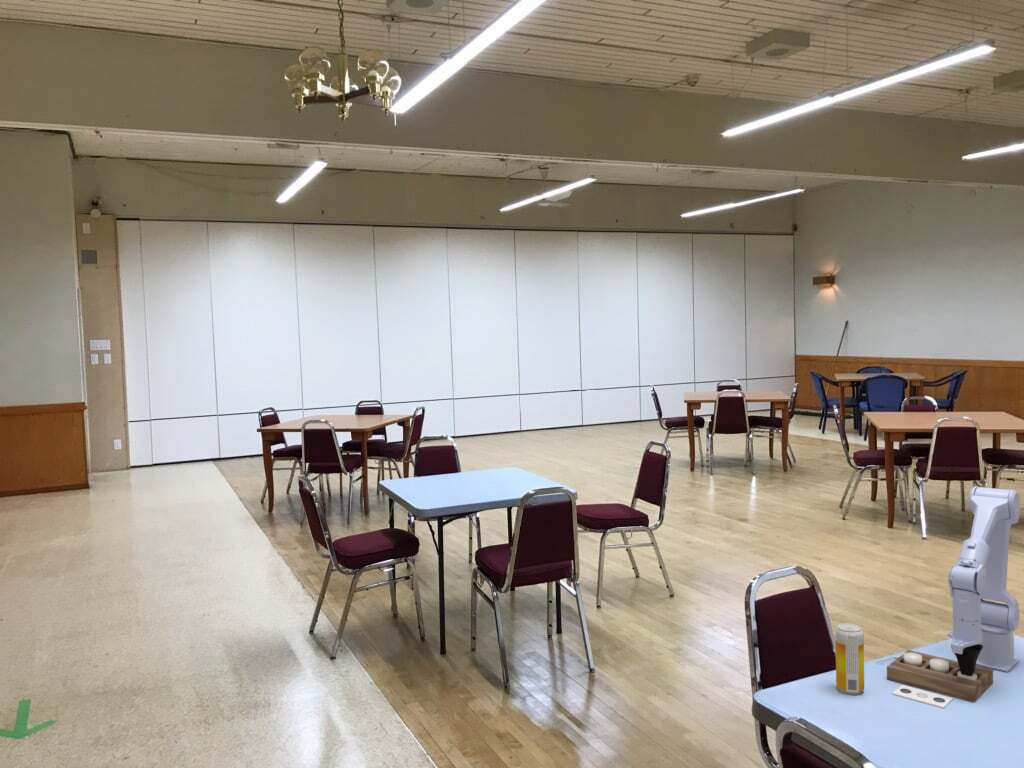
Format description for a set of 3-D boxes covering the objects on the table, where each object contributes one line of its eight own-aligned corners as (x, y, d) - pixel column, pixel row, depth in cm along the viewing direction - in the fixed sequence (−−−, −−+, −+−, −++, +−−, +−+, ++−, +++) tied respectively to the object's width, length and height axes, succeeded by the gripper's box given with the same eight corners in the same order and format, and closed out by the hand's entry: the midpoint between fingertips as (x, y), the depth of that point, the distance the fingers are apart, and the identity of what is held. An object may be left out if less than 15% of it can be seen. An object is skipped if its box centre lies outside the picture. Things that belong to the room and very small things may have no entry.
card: (902, 686, 190) (902, 684, 190) (952, 699, 182) (952, 697, 182) (892, 694, 186) (892, 692, 186) (943, 708, 178) (943, 706, 178)
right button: (960, 679, 191) (960, 669, 190) (979, 684, 188) (979, 674, 188) (955, 685, 188) (954, 674, 188) (974, 690, 185) (974, 679, 185)
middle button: (933, 667, 195) (933, 657, 195) (951, 671, 192) (951, 661, 192) (927, 672, 192) (927, 662, 192) (945, 677, 189) (945, 666, 189)
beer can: (859, 684, 191) (858, 622, 191) (868, 695, 185) (867, 631, 185) (833, 684, 192) (832, 622, 191) (840, 695, 186) (839, 631, 185)
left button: (907, 661, 199) (907, 651, 199) (924, 665, 196) (924, 655, 196) (901, 665, 196) (901, 655, 196) (918, 670, 193) (918, 660, 193)
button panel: (908, 662, 204) (908, 649, 204) (993, 682, 190) (993, 669, 190) (887, 679, 194) (886, 666, 194) (974, 702, 180) (974, 688, 180)
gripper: (958, 606, 195) (958, 661, 195) (937, 622, 185) (937, 680, 185) (990, 612, 190) (991, 669, 190) (971, 629, 180) (971, 688, 180)
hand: (967, 675), depth 188 cm, fingers closed, pressing on right button
